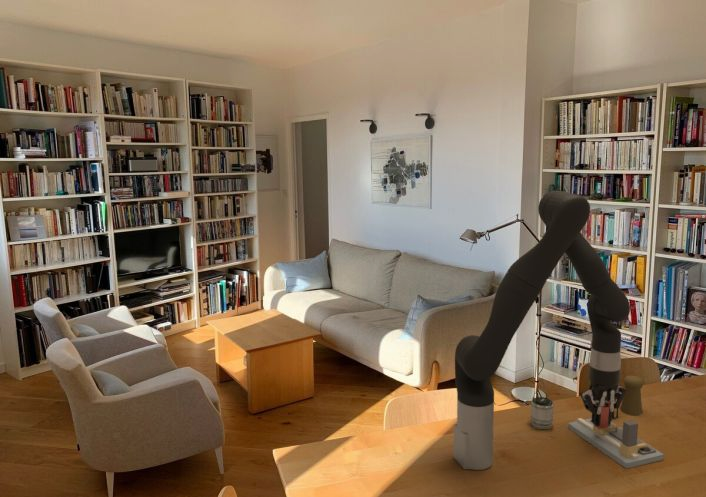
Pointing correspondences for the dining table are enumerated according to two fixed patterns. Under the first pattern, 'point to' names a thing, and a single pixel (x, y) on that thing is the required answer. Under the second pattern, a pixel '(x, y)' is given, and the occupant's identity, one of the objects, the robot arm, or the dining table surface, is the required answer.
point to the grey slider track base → (618, 443)
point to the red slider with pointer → (604, 422)
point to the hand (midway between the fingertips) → (601, 423)
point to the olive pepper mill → (632, 396)
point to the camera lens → (542, 413)
